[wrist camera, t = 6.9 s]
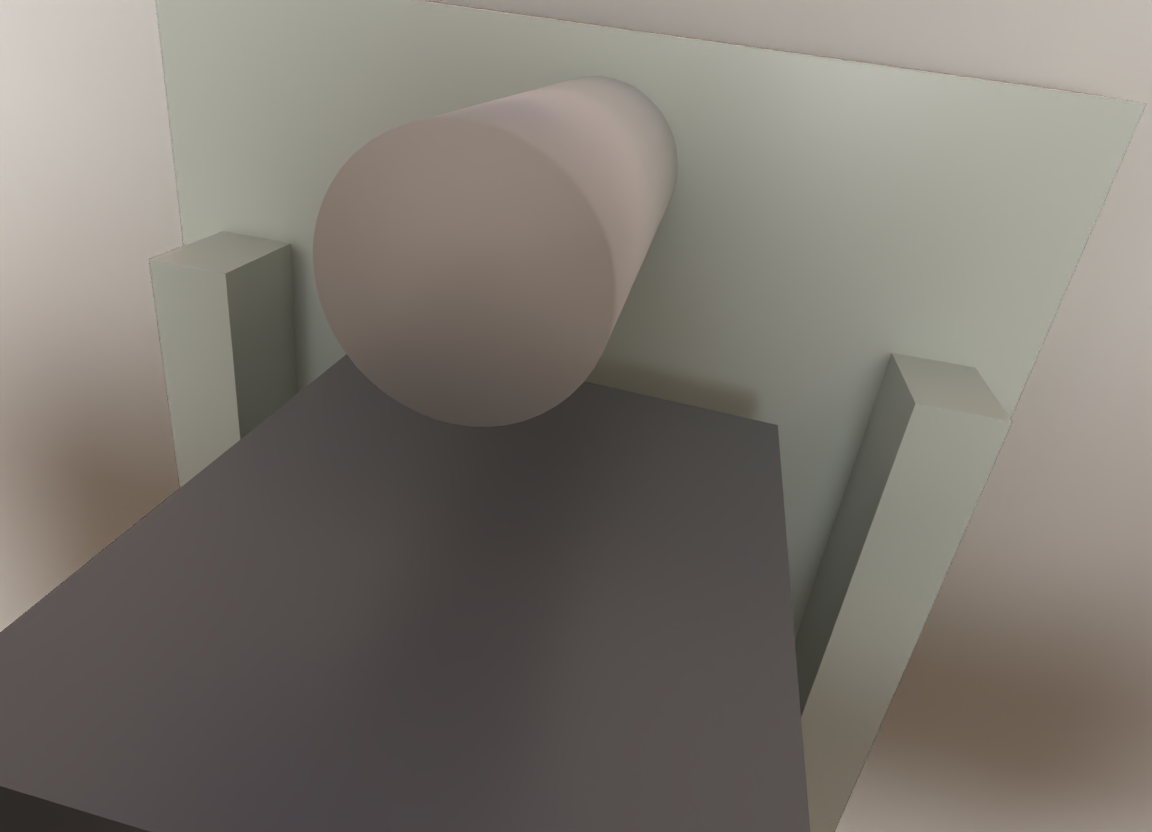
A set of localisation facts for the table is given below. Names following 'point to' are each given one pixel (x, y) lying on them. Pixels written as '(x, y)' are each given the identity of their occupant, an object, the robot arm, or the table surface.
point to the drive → (427, 633)
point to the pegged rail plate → (638, 266)
